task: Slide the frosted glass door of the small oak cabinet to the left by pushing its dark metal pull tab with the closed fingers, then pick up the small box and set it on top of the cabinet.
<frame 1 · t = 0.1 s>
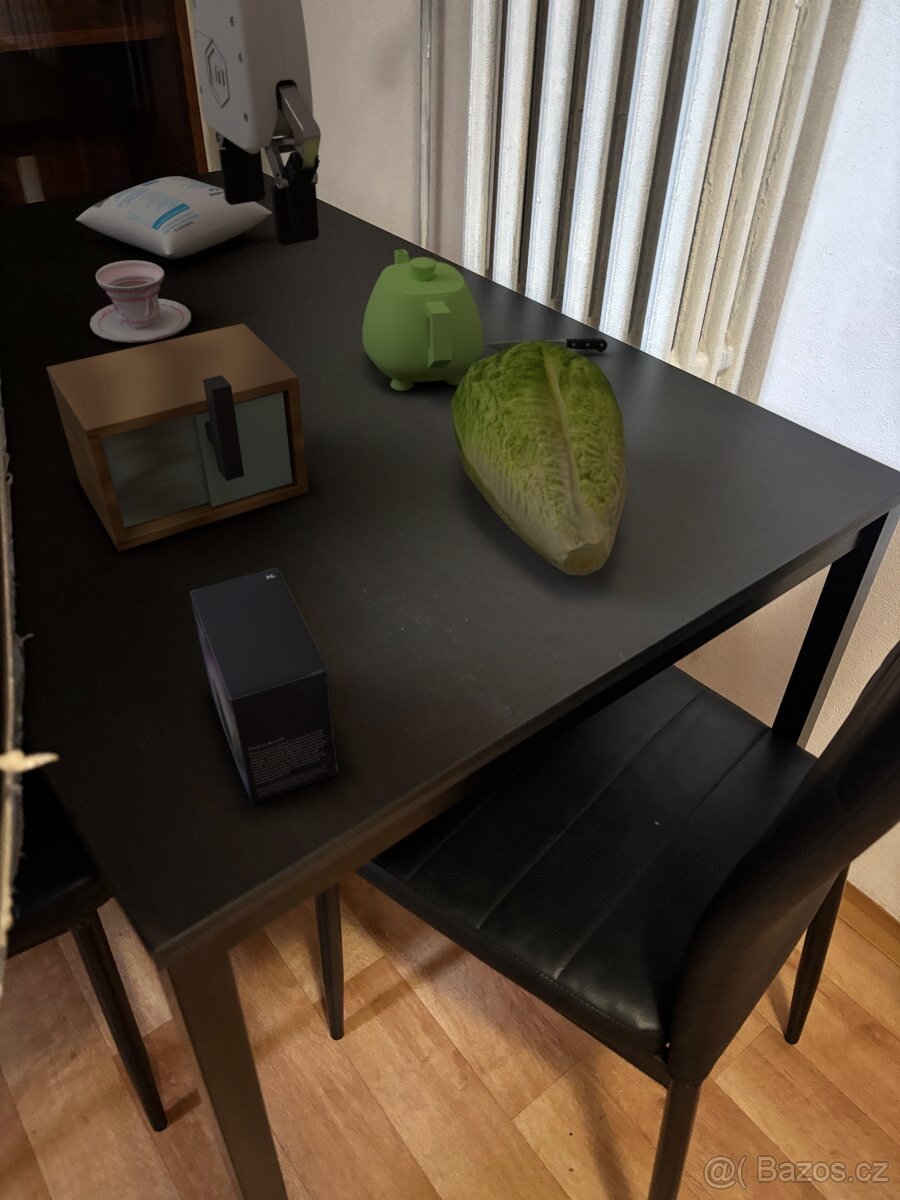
hand: (270, 220, 70), 25 cm above the table, tool pointing down, fingers open, 9 cm apart
sliding door: (251, 439, 78), point 8 cm above the table, slide at 0.0 cm
lettuce: (541, 516, 84), on the table
teacup: (142, 324, 112), on the table
teapot: (421, 370, 105), on the table
small box: (272, 736, 64), on the table
cabinet: (194, 487, 86), on the table
pouch: (179, 245, 132), on the table
knife: (544, 357, 108), on the table
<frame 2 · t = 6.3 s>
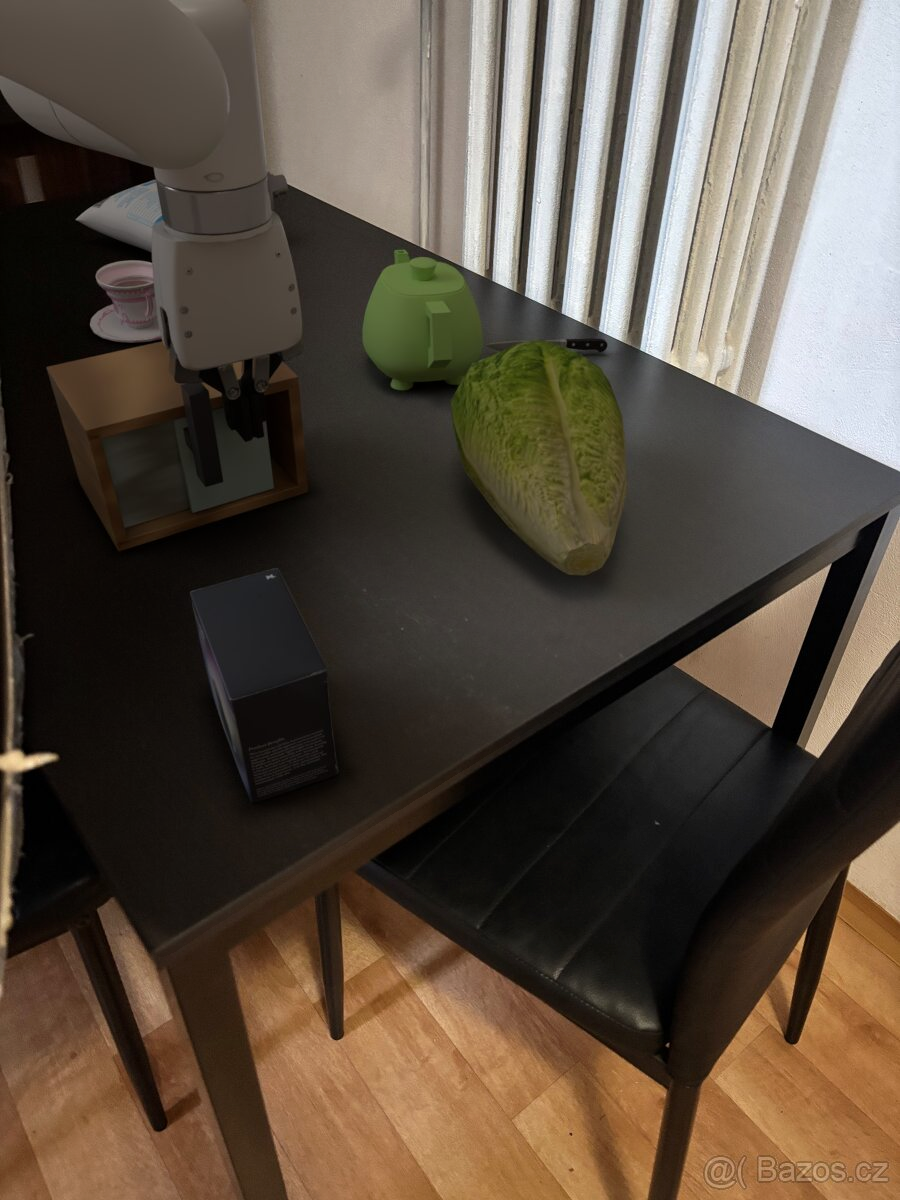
hand: (248, 431, 75), 10 cm above the table, tool pointing down, fingers closed
sliding door: (231, 445, 77), point 8 cm above the table, slide at 1.9 cm, touching gripper
everything else where it was.
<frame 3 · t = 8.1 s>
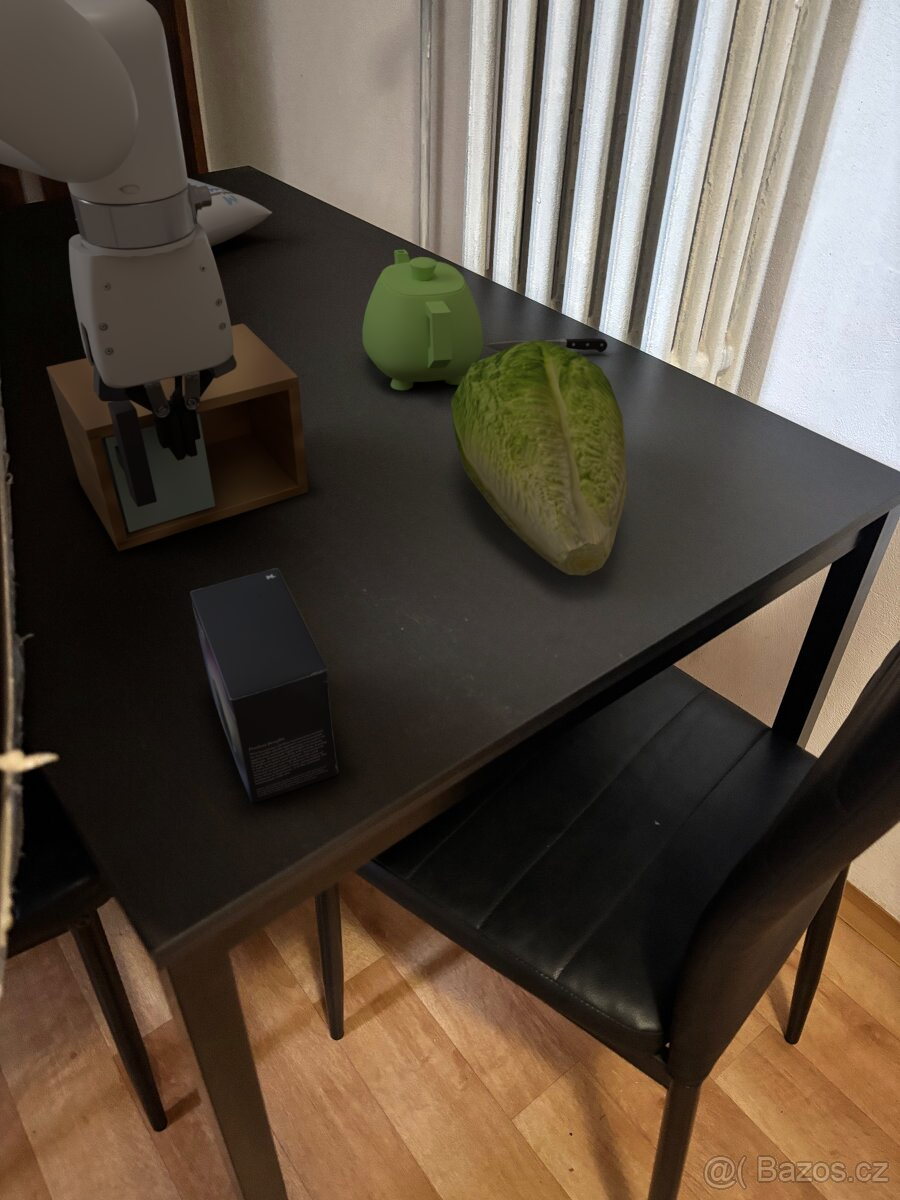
hand: (181, 449, 73), 10 cm above the table, tool pointing down, fingers closed
sliding door: (165, 463, 74), point 8 cm above the table, slide at 7.5 cm
everything else where it was.
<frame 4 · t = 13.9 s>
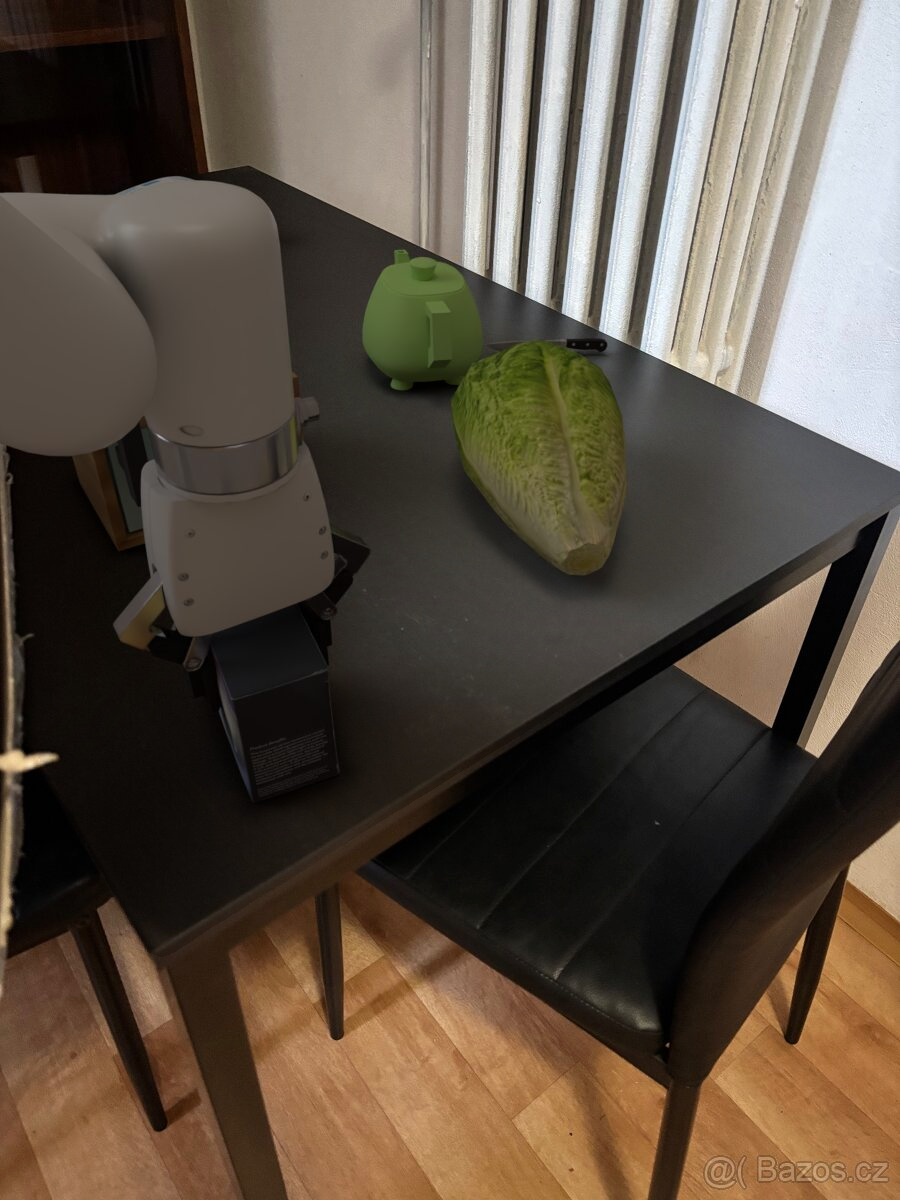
hand: (262, 674, 59), 6 cm above the table, tool pointing down, fingers closed on small box, 6 cm apart
small box: (273, 736, 64), on the table, touching gripper
everything else where it was.
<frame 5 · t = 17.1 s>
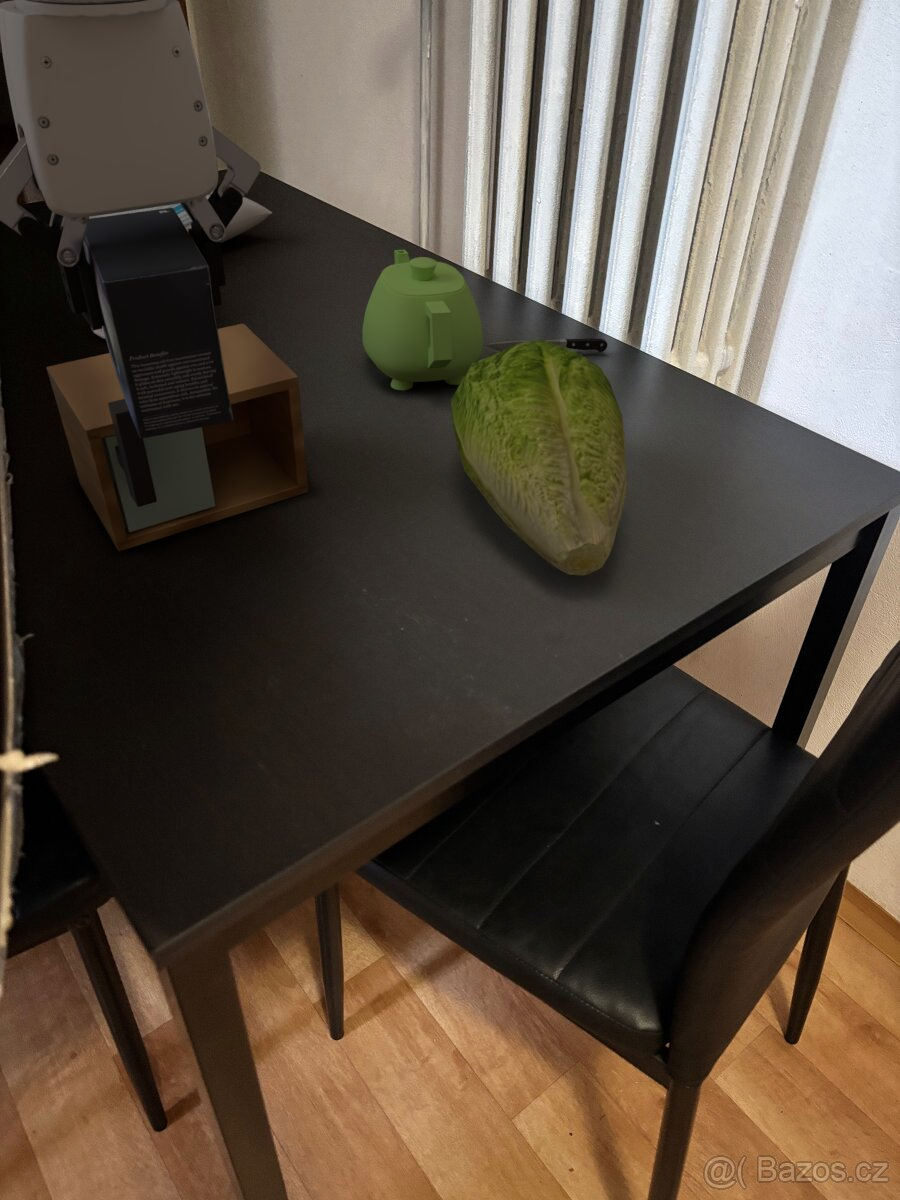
hand: (151, 307, 58), 25 cm above the table, tool pointing down, fingers closed on small box, 6 cm apart
small box: (170, 397, 62), point 18 cm above the table, touching gripper
everything else where it was.
when the fingers open (18 cm above the table, at t = 20.3 s): small box stays where it is, resting on cabinet.
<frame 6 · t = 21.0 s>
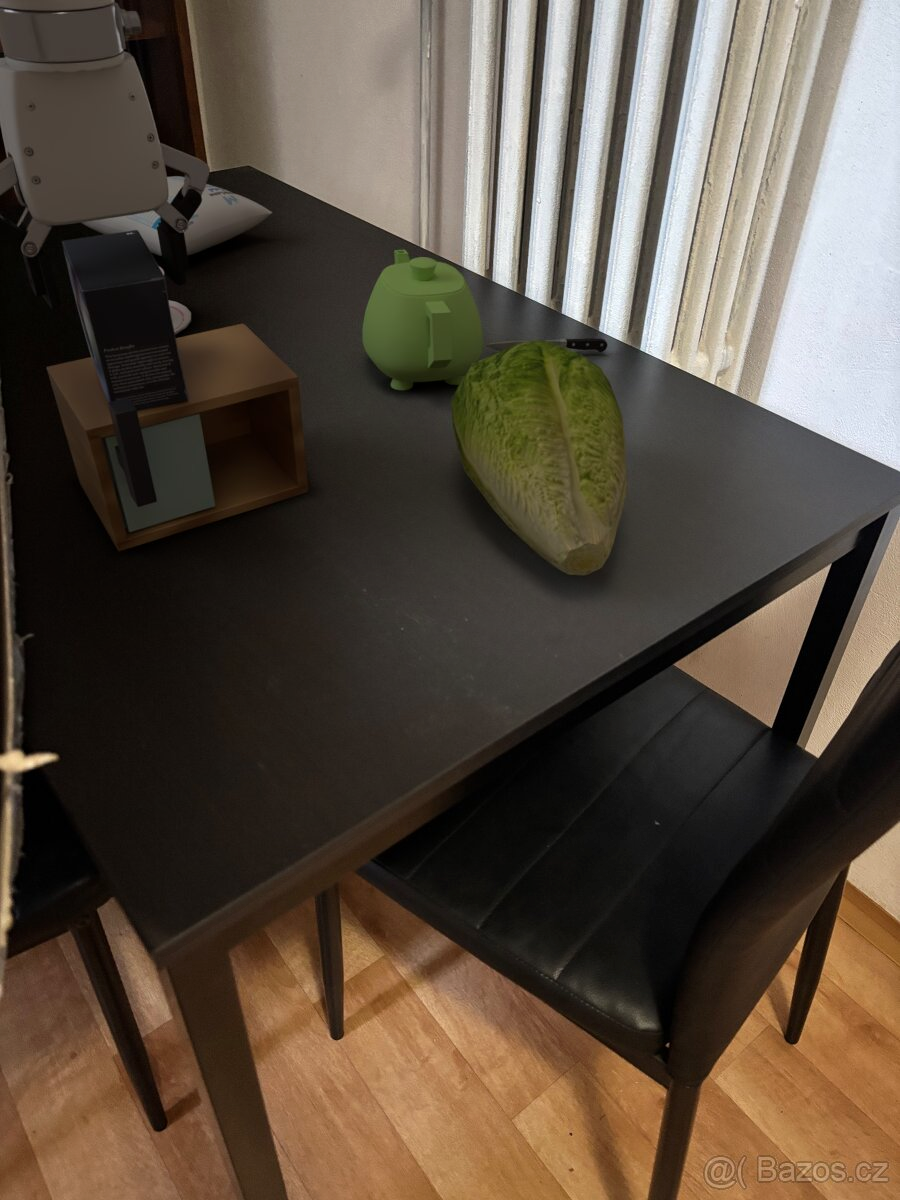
hand: (115, 290, 71), 20 cm above the table, tool pointing down, fingers open, 9 cm apart
small box: (138, 382, 77), point 12 cm above the table, touching cabinet
everything else where it was.
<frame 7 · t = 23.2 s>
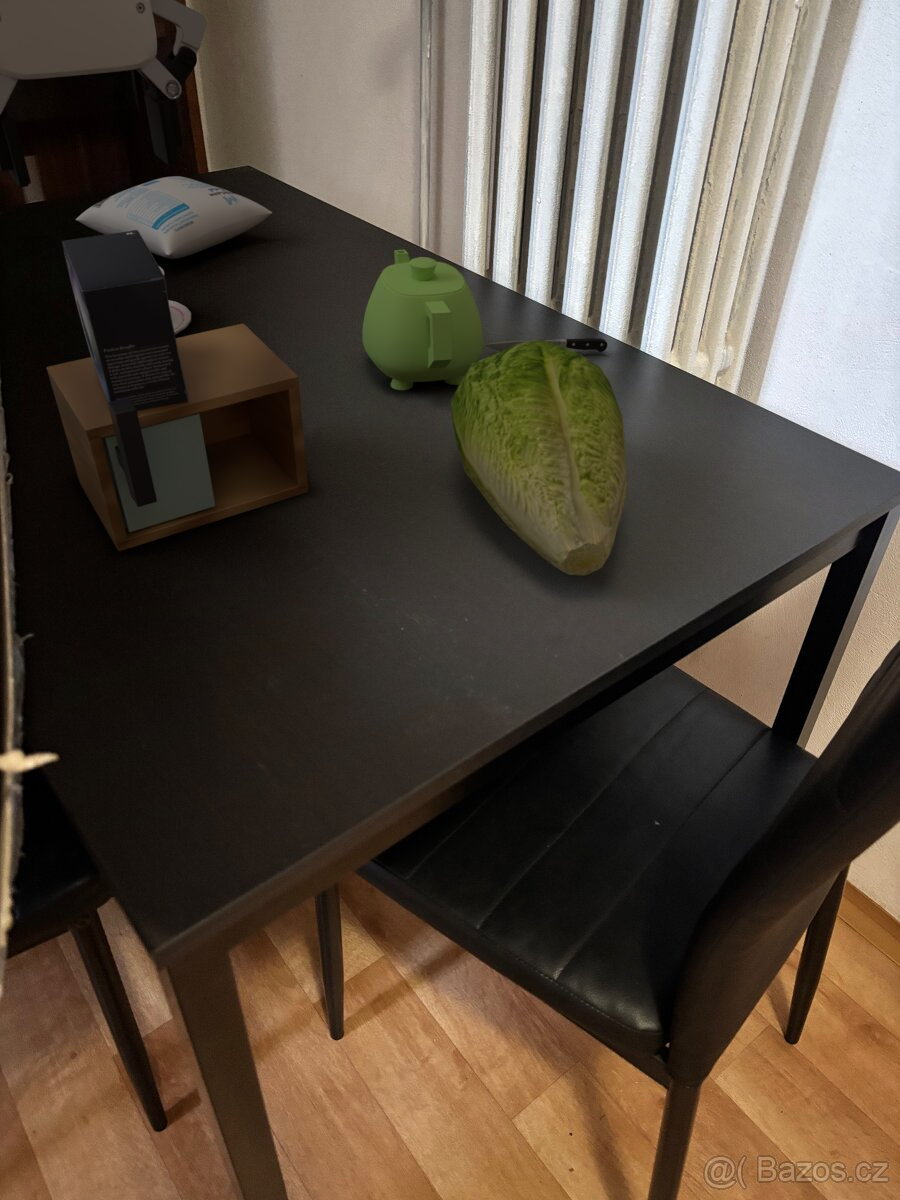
hand: (96, 170, 60), 30 cm above the table, tool pointing down, fingers open, 9 cm apart
nothing on the table moved.
at the end: sliding door slide at 7.5 cm; small box inside the target area on the cabinet (3.0 cm from its centre), point 11.8 cm above the cabinet's base; small box tilted 0° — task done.
